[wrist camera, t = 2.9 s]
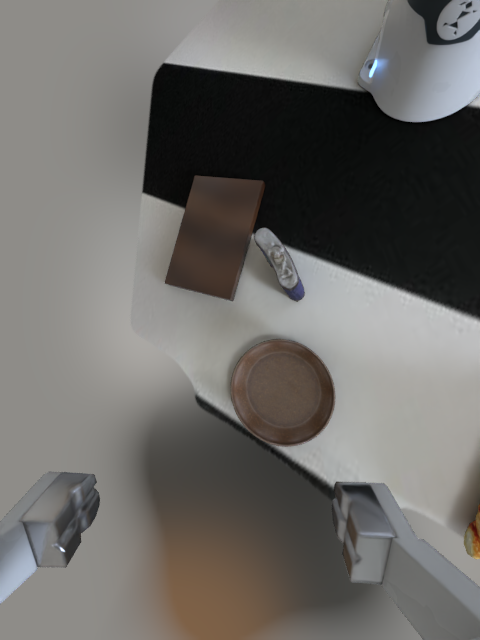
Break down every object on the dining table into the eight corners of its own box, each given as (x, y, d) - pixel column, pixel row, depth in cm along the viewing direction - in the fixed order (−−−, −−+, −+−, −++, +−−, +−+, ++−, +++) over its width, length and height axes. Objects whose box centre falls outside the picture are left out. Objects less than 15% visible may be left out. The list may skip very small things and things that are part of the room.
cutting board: (198, 180, 46) (194, 175, 44) (265, 186, 41) (263, 180, 40) (169, 285, 45) (164, 283, 44) (233, 301, 41) (230, 299, 40)
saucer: (221, 364, 41) (214, 365, 38) (303, 322, 37) (301, 321, 35) (261, 453, 38) (256, 461, 35) (354, 417, 34) (357, 423, 32)
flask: (264, 256, 40) (246, 227, 30) (280, 246, 40) (267, 213, 29) (293, 304, 38) (283, 290, 28) (310, 295, 38) (307, 277, 27)
